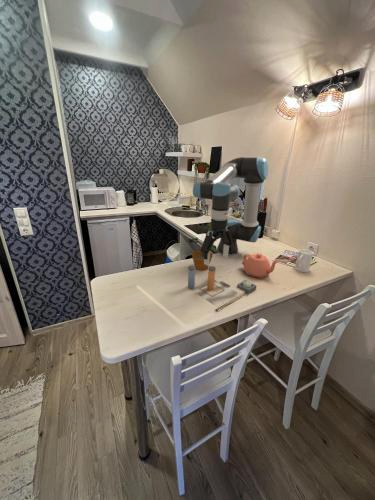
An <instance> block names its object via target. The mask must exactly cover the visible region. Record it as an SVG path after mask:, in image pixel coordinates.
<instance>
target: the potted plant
mask: <svg viewBox="0 0 375 500" xmlns="http://www.w3.org/2000/svg"><path fill="white" fill-rule="evenodd" d="M206 226H209V227H208V228H207V230H205V232H204V234H206V232H207V231H211V230H212V227H211V223H206ZM188 242H190V244H191V243H194V244H197V243H198V244H199V245H200V246H201V247H202V245H203V244H201V243H200V241H199V239H198V237H196V238H188ZM200 250H201V249H199V250H195V251H193V252H192V253H191V258H192V260H193V266H195V271H196V270H197V271H202V272H203V271H208V268H209V266H207V265H205V264H204V253H203V252H201V251H200ZM210 250H211V251H214V252H215V253H216V252H217V251H216V250H217V245H215V244H213V246H212V247H211V249H210ZM209 253H210V259H209V265H210V264H211V261H212V258H213V253H212V252H210V251H209Z"/></svg>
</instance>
